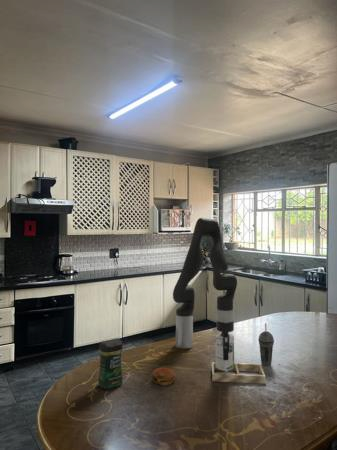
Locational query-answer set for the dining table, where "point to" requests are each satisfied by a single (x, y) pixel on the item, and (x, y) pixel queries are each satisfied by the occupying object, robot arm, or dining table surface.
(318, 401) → the dining table surface
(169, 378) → the burger
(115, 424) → the dining table surface
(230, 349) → the syrup box
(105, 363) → the coffee jar
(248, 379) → the wooden frame
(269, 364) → the beverage cup
